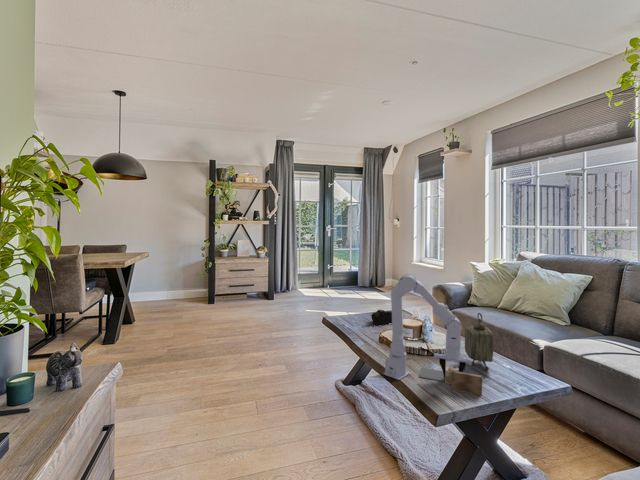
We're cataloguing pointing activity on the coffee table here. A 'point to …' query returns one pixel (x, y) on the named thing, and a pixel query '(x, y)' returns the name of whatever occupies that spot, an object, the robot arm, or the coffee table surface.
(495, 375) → the coffee table surface
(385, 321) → the film camera
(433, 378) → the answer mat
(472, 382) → the walnut screen
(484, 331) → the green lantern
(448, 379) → the letter block
